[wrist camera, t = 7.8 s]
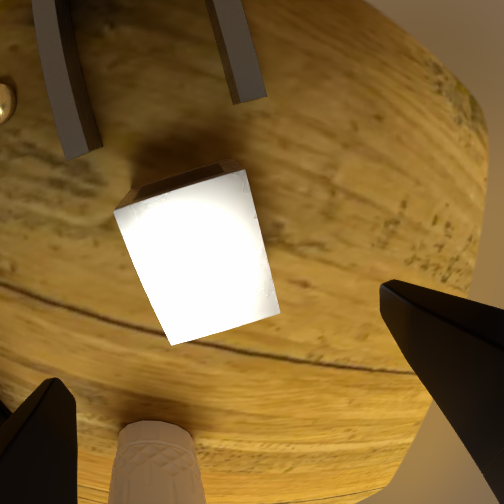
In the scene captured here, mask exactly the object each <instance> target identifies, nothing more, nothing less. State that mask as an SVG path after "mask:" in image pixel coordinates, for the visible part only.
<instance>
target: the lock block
mask: <svg viewBox="0 0 504 504" xmlns="http://www.w3.org/2000/svg"><path fill="white" fill-rule="evenodd" d="M113 212H114V215H115V218H116V220H117V223H118V226H119V228H120V231H121V233H122V236H123V238H124V241H125V243H126V246H127V248H128V251H129V253H130V256H131V258H132V260H133V263H134V265H135V268H136V270H137V272H138V275H139V277H140V279H141V281H142V284H143V286H144V288H145V290H146V293H147V295H148V297H149V299H150V301H151V304H152V306H153V308H154V310H155V312H156V314H157V316H158V318H159V321H160V323H161V325H162V327H163V329H164V331H165V333H166V335H167V337H168V339H169V341H170V343H171V345H174V344H178V343H182V342H185V341H189V340H193V339H196V338H200V337H203V336H207V335H210V334H214V333H217V332H221V331H224V330H227V329H231V328H234V327H237V326H241V325H244V324H247V323H251V322H254V321H257V320H260V319H263V318H267V317H270V316H273V315H276V314H279V313H280V309H279V305H278V301H277V297H276V292H275V288H274V284H273V280H272V276H271V272H270V268H269V264H268V259H267V255H266V251H265V247H264V243H263V239H262V235H261V231H260V227H259V223H258V219H257V215H256V211H255V207H254V203H253V199H252V195H251V191H250V187H249V183H248V179H247V175H246V171H245V169H244V168H243V167H242V166H241V165H239V164H238V163H237V162H236V161H235V160H234V159H232V158H227V159H224V160H220V161H217V162H213V163H210V164H206V165H203V166H199V167H196V168H193V169H190V170H186V171H183V172H180V173H177V174H174V175H170V176H167V177H164V178H161V179H158V180H155V181H152V182H149V183H146V184H143V185H140V186H137V187H135V188H132V189H130V190H129V192H128V193H127V194H126V195H125V197H124V198H123V199H122V200H121V202H120V203H119V204H118V205H117V207H116V208H115V209H114V211H113Z"/></svg>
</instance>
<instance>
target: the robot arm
mask: <svg viewBox="0 0 504 504" xmlns="http://www.w3.org/2000/svg"><path fill="white" fill-rule="evenodd" d="M379 292H380V313H381V316H382V318H383V320H384V322H385V323H386V325H387V327H388V329H389V330H390V332H391V334H392V336H393V337H394V339H395V341H396V343H397V344H398V346H399V348H400V350H401V352H402V353H403V355H404V357H405V359H406V360H407V362H408V363H409V365H410V366H411V368H412V369H413V370H414V372H415V373H416V375H417V376H418V377H419V379H420V380H421V382H422V383H423V385H424V386H425V387H426V389H427V390H428V392H429V393H430V395H431V396H432V397H433V399H434V400H435V402H436V403H437V405H438V406H439V408H440V409H441V411H442V412H443V414H444V415H445V416H446V418H447V420H448V421H449V423H450V424H451V426H452V427H453V428H454V430H455V432H456V433H457V435H458V436H459V438H460V439H461V441H462V442H463V444H464V446H465V447H466V449H467V450H468V452H469V453H470V455H471V457H472V458H473V460H474V461H475V463H476V465H477V466H478V467H479V469H480V471H481V473H482V474H483V476H484V478H485V480H486V481H487V483H488V485H489V486H490V488H491V490H492V491H493V493H494V495H495V496H496V498H497V500H498V502H499V504H504V310H503V309H500V308H497V307H493V306H489V305H486V304H482V303H479V302H475V301H471V300H468V299H465V298H461V297H457V296H454V295H450V294H447V293H443V292H439V291H436V290H432V289H429V288H425V287H421V286H418V285H414V284H410V283H407V282H403V281H399V280H395V279H393V280H390V281H387V282H385V283H382V284H381V285H380V290H379ZM77 458H78V446H77V422H76V401H75V398H74V396H73V395H72V394H71V392H70V391H69V390H68V389H67V387H66V386H65V385H64V384H63V382H62V381H61V380H60V379H59V378H56V377H54V378H49V379H46V380H44V381H43V382H42V383H41V384H40V385H39V386H38V387H37V389H36V390H35V391H34V392H33V393H32V394H31V395H30V396H29V397H28V398H27V399H26V400H25V401H24V402H23V403H22V404H21V405H20V406H19V407H18V408H17V409H16V411H15V412H14V413H13V414H12V415H11V413H10V412H9V411H8V410H7V409H6V408H5V407H4V406H3V405H2V403H1V402H0V504H78V501H77Z"/></svg>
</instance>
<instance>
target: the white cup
mask: <svg viewBox="0 0 504 504" xmlns="http://www.w3.org/2000/svg"><path fill="white" fill-rule="evenodd" d="M108 504H206V499H205V493H204V488H203V484H202V480H201V474H200V469H199V465H198V462H197V457H196V451H195V444H194V441H193V439H192V437H191V435H190V434H189V432H187V431H185V430H184V429H182V428H181V427H179V426H177V425H174V424H170V423H166V422H162V421H144V420H142V421H138V422H134V423H131V424H128V425H126V426H125V427H124V428H123V429H122V430H121V431H120V433H119V438H118V445H117V452H116V457H115V459H114V464H113V469H112V475H111V482H110V488H109V497H108Z"/></svg>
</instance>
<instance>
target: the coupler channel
mask: <svg viewBox="0 0 504 504" xmlns="http://www.w3.org/2000/svg"><path fill="white" fill-rule="evenodd" d="M205 3H206V7H207V10H208V14H209V17H210V21H211V25H212V28H213V32H214V35H215V39H216V43H217V46H218V50H219V54H220V57H221V61H222V65H223V69H224V72H225V76H226V80H227V84H228V87H229V91H230V95H231V99H232V102H233V105H235V104H239V103H244V102H248V101H252V100H257V99H260V98H263V97H267V94H266V90H265V86H264V82H263V79H262V75H261V71H260V67H259V63H258V60H257V56H256V52H255V48H254V45H253V41H252V38H251V34H250V30H249V27H248V23H247V20H246V16H245V13H244V9H243V6H242V3H241V0H205ZM32 8H33V16H34V24H35V31H36V37H37V44H38V49H39V55H40V60H41V65H42V70H43V75H44V80H45V84H46V89H47V93H48V97H49V101H50V105H51V109H52V113H53V117H54V120H55V124H56V128H57V131H58V135H59V138H60V142H61V145H62V148H63V151H64V155H65V158H66V161H69V160H71V159H74V158H77V157H79V156H82V155H84V154H87V153H89V152H91V151H94V150H96V149H99V148H101V147H103V145H102V142H101V139H100V135H99V132H98V129H97V125H96V122H95V118H94V115H93V111H92V107H91V104H90V100H89V96H88V92H87V88H86V84H85V80H84V76H83V72H82V68H81V63H80V59H79V55H78V50H77V45H76V40H75V35H74V30H73V25H72V19H71V14H70V8H69V1H68V0H32Z"/></svg>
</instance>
